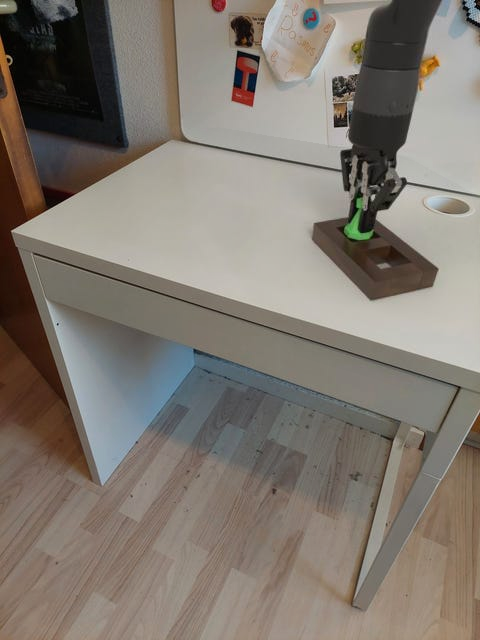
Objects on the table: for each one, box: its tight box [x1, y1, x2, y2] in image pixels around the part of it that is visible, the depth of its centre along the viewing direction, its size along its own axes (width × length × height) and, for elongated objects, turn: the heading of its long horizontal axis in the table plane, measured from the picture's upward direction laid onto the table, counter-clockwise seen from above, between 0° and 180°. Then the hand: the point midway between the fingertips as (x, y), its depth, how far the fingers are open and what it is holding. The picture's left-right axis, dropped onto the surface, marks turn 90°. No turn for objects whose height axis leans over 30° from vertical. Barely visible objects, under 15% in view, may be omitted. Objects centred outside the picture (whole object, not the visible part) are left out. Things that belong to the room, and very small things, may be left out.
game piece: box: [344, 197, 373, 241], centre depth 67 cm, size 4×4×6 cm
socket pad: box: [311, 216, 439, 302], centre depth 67 cm, size 10×18×3 cm, turn 20°
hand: (359, 226), depth 69 cm, fingers closed on game piece, 2 cm apart
